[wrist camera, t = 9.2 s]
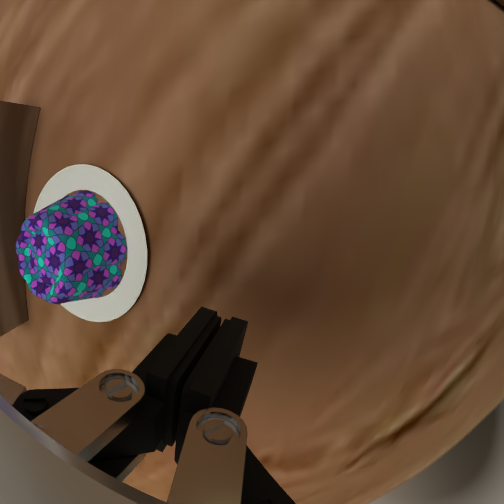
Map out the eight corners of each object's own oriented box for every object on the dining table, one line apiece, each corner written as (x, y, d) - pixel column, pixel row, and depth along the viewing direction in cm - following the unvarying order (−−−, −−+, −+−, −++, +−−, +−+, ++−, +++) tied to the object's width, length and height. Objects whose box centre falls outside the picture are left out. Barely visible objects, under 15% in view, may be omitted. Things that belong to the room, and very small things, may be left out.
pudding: (107, 345, 22) (71, 377, 17) (23, 248, 21) (-18, 262, 16) (185, 238, 19) (147, 258, 14) (77, 134, 18) (28, 127, 13)
